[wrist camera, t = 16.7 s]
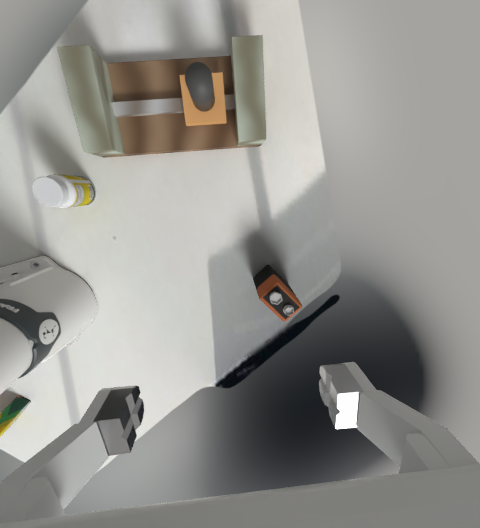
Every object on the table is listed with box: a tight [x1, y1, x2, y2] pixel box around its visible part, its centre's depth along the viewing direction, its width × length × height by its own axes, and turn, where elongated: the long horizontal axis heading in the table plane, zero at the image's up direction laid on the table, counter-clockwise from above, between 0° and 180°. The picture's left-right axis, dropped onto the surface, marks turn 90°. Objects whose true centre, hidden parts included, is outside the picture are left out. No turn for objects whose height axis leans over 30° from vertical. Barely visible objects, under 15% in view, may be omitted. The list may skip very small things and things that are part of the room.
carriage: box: [179, 62, 226, 126], centre depth 31 cm, size 6×6×9 cm
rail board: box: [57, 35, 266, 157], centre depth 34 cm, size 26×12×6 cm, turn 94°
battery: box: [253, 265, 302, 321], centre depth 42 cm, size 4×7×10 cm, turn 44°
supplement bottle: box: [32, 175, 96, 208], centre depth 36 cm, size 5×5×8 cm
